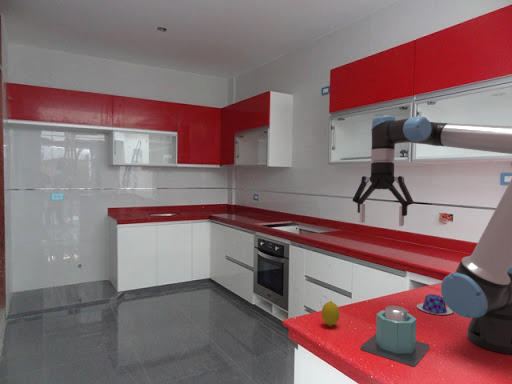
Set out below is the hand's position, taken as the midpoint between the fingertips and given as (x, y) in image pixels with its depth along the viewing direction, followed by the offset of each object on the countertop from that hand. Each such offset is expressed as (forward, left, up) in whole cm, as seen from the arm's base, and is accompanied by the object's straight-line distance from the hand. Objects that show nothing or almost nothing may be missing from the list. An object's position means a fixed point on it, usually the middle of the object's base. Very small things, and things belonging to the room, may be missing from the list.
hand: (381, 224), depth 123 cm
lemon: (+8, +20, -32) cm, 38 cm away
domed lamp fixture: (-13, +22, -32) cm, 41 cm away
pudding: (-13, -20, -32) cm, 40 cm away
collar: (-13, +22, -31) cm, 40 cm away
